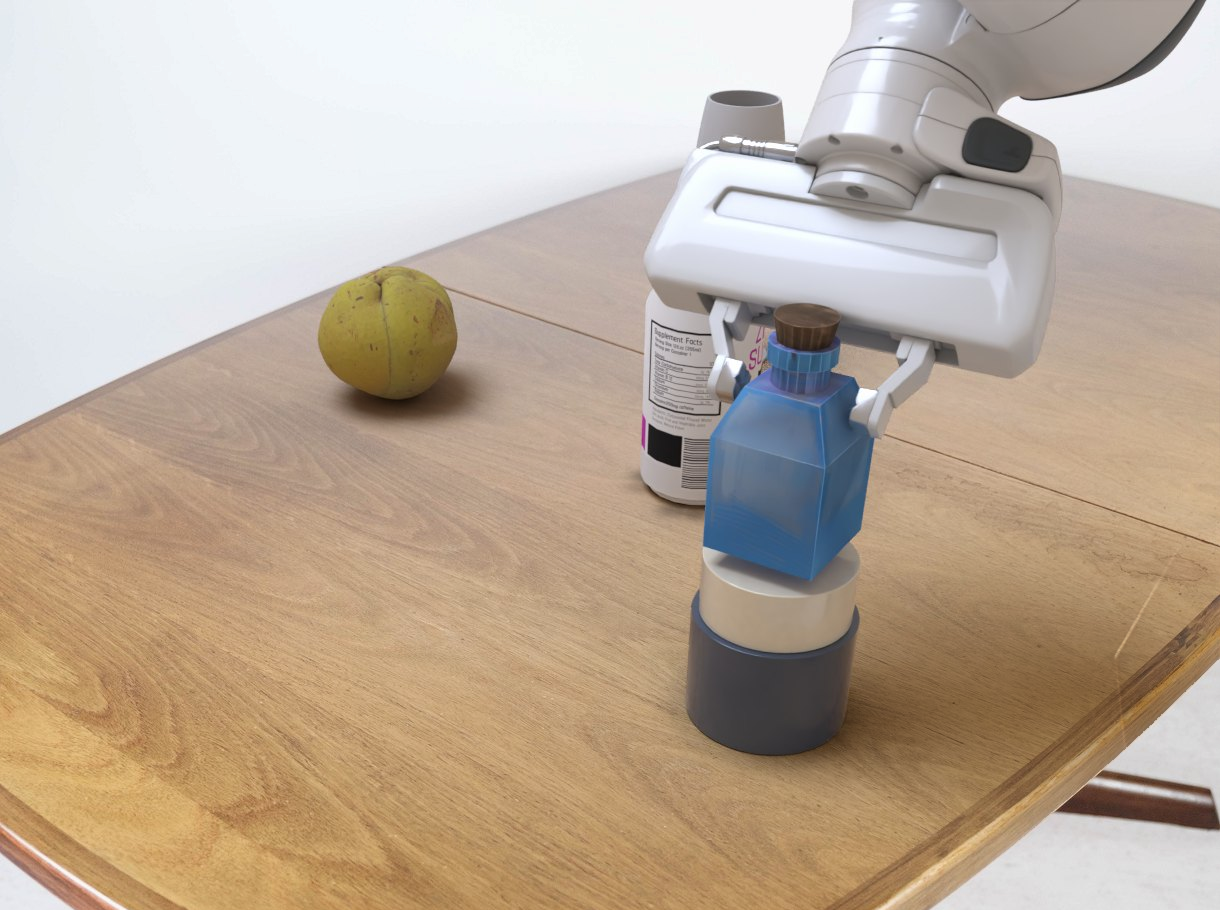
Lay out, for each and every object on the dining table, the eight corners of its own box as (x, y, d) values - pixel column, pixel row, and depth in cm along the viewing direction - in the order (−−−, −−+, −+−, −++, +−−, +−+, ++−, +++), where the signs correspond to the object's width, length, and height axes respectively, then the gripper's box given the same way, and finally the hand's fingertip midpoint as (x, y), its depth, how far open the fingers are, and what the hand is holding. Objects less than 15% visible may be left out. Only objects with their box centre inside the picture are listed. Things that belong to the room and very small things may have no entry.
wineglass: (784, 363, 117) (809, 105, 104) (705, 375, 114) (721, 113, 101) (745, 332, 122) (765, 84, 109) (669, 343, 120) (681, 91, 107)
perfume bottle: (860, 529, 71) (893, 308, 64) (810, 580, 67) (840, 350, 59) (757, 498, 73) (777, 282, 66) (702, 546, 69) (718, 321, 62)
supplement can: (624, 467, 100) (628, 268, 91) (723, 451, 103) (738, 255, 94) (665, 517, 94) (674, 309, 85) (770, 498, 97) (790, 294, 87)
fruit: (493, 395, 110) (488, 275, 104) (375, 436, 104) (363, 310, 98) (413, 355, 117) (404, 239, 111) (298, 391, 110) (282, 270, 104)
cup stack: (852, 672, 79) (875, 524, 73) (836, 767, 72) (860, 612, 66) (701, 650, 81) (711, 503, 75) (670, 740, 74) (679, 586, 68)
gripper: (682, 92, 67) (585, 344, 66) (1093, 151, 59) (990, 436, 59) (714, 164, 73) (626, 396, 72) (1091, 226, 65) (998, 486, 64)
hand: (792, 415), depth 65 cm, fingers closed on perfume bottle, 6 cm apart
